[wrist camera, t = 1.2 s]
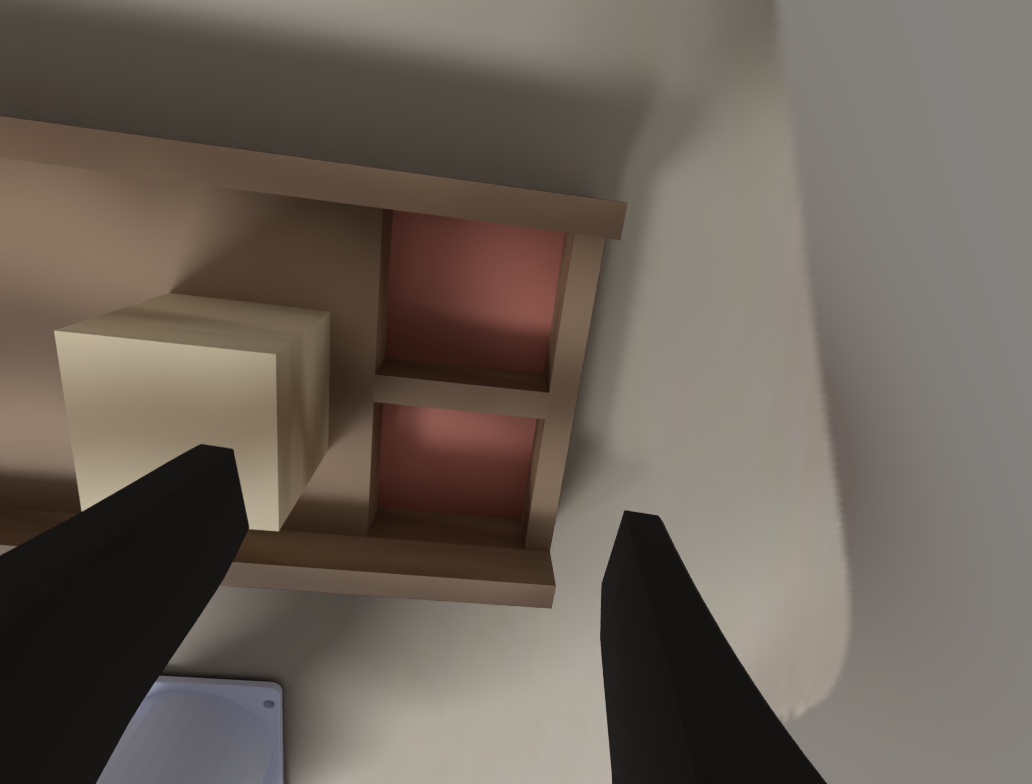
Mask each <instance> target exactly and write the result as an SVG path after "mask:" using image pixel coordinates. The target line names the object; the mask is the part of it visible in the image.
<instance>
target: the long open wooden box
mask: <svg viewBox="0 0 1032 784" xmlns="http://www.w3.org/2000/svg"><path fill="white" fill-rule="evenodd" d="M626 206H627V203H625V202H618V201H610V200H603V199H596V198H589V197H581V196H574V195H567V194H560V193H553V192H545V191H538V190H531V189H524V188H517V187H509V186H502V185H495V184H488V183H480V182H473V181H466V180H459V179H452V178H444V177H437V176H430V175H423V174H415V173H408V172H401V171H394V170H387V169H379V168H372V167H365V166H358V165H350V164H343V163H336V162H329V161H322V160H314V159H307V158H300V157H293V156H286V155H278V154H271V153H264V152H257V151H249V150H242V149H235V148H228V147H221V146H213V145H206V144H199V143H192V142H184V141H177V140H170V139H163V138H156V137H148V136H141V135H134V134H127V133H119V132H112V131H105V130H98V129H91V128H83V127H76V126H69V125H62V124H55V123H47V122H40V121H33V120H26V119H18V118H11V117H4V116H0V555H2V554H4V553H6V552H7V551H9V550H11V549H13V548H15V547H17V546H19V545H21V544H23V543H24V542H26V541H28V540H30V539H32V538H34V537H36V536H38V535H39V534H41V533H43V532H45V531H47V530H49V529H51V528H53V527H55V526H56V525H58V524H60V523H62V522H64V521H66V520H68V519H70V518H71V517H73V516H75V515H77V514H79V513H80V512H82V511H81V504H80V497H79V491H78V484H77V478H76V471H75V465H74V458H73V452H72V445H71V439H70V432H69V426H68V419H67V413H66V406H65V399H64V393H63V386H62V380H61V373H60V367H59V360H58V354H57V347H56V341H55V334H54V330H57V329H60V328H63V327H66V326H70V325H73V324H76V323H79V322H82V321H85V320H88V319H91V318H94V317H97V316H100V315H103V314H106V313H109V312H112V311H115V310H119V309H122V308H125V307H128V306H131V305H134V304H137V303H140V302H143V301H146V300H149V299H152V298H155V297H158V296H161V295H164V294H168V293H174V294H183V295H192V296H201V297H209V298H218V299H227V300H236V301H244V302H253V303H262V304H270V305H279V306H288V307H297V308H305V309H314V310H323V311H331V321H330V377H329V434H328V451H327V453H326V454H325V456H324V458H323V459H322V461H321V463H320V464H319V466H318V468H317V469H316V471H315V473H314V474H313V476H312V478H311V479H310V481H309V482H308V484H307V486H306V487H305V489H304V491H303V492H302V494H301V496H300V497H299V499H298V501H297V502H296V504H295V506H294V507H293V509H292V510H291V512H290V514H289V515H288V517H287V519H286V520H285V522H284V524H283V525H282V527H281V529H280V530H279V531H267V530H254V529H249V530H248V532H247V534H246V536H245V538H244V540H243V542H242V544H241V546H240V548H239V550H238V553H237V555H236V557H235V559H234V560H233V562H232V564H231V566H230V568H229V570H228V572H227V574H226V576H225V578H224V579H223V581H222V582H221V584H220V585H222V586H236V587H251V588H265V589H279V590H294V591H308V592H322V593H337V594H351V595H365V596H380V597H394V598H408V599H423V600H437V601H451V602H466V603H480V604H494V605H509V606H523V607H537V608H552V603H553V598H554V593H555V587H556V584H555V579H554V573H553V567H552V561H551V556H550V547H551V542H552V536H553V530H554V525H555V519H556V514H557V508H558V502H559V497H560V491H561V485H562V480H563V474H564V468H565V463H566V457H567V452H568V446H569V440H570V435H571V429H572V423H573V418H574V412H575V406H576V401H577V395H578V390H579V384H580V378H581V373H582V367H583V361H584V356H585V350H586V344H587V339H588V333H589V328H590V322H591V316H592V311H593V305H594V299H595V294H596V288H597V282H598V277H599V271H600V266H601V260H602V254H603V249H604V243H605V238H611V239H618V240H620V238H621V233H622V228H623V222H624V217H625V212H626Z"/></svg>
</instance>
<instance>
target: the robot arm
mask: <svg viewBox="0 0 1032 784" xmlns="http://www.w3.org/2000/svg"><path fill="white" fill-rule="evenodd" d="M248 530H249V523H248V518H247V513H246V508H245V503H244V499H243V494H242V489H241V484H240V479H239V474H238V469H237V464H236V459H235V455H234V450H233V449H231V448H225V447H218V446H212V445H206V444H199V445H198V446H196V447H194V448H192V449H190V450H188V451H186V452H185V453H183V454H181V455H179V456H177V457H176V458H174V459H172V460H170V461H169V462H167V463H165V464H163V465H162V466H160V467H158V468H157V469H155V470H153V471H151V472H150V473H148V474H146V475H145V476H143V477H141V478H139V479H138V480H136V481H134V482H133V483H131V484H129V485H127V486H126V487H124V488H122V489H120V490H119V491H117V492H115V493H113V494H112V495H110V496H108V497H106V498H105V499H103V500H101V501H100V502H98V503H96V504H94V505H93V506H91V507H89V508H87V509H86V510H84V511H82V512H80V513H79V514H77V515H75V516H73V517H71V518H70V519H68V520H66V521H64V522H62V523H60V524H58V525H56V526H55V527H53V528H51V529H49V530H47V531H45V532H43V533H41V534H39V535H38V536H36V537H34V538H32V539H30V540H28V541H26V542H24V543H23V544H21V545H19V546H17V547H15V548H13V549H11V550H9V551H7V552H6V553H4V554H2V555H0V784H284V774H283V710H282V688H281V687H280V685H279V684H277V683H275V682H265V681H247V680H229V679H210V678H192V677H174V676H160V674H161V673H162V671H163V670H164V668H165V667H166V665H167V664H168V662H169V661H170V659H171V658H172V656H173V655H174V653H175V652H176V650H177V649H178V647H179V646H180V644H181V643H182V641H183V640H184V638H185V637H186V635H187V634H188V632H189V631H190V630H191V628H192V627H193V625H194V624H195V622H196V621H197V619H198V618H199V616H200V615H201V613H202V612H203V610H204V608H205V607H206V605H207V604H208V602H209V601H210V599H211V598H212V596H213V595H214V593H215V592H216V590H217V589H218V587H219V586H220V584H221V582H222V581H223V579H224V578H225V576H226V574H227V572H228V570H229V568H230V566H231V564H232V562H233V560H234V559H235V557H236V555H237V553H238V550H239V548H240V546H241V544H242V542H243V540H244V538H245V536H246V534H247V532H248ZM600 641H601V654H602V666H603V678H604V690H605V701H606V712H607V724H608V735H609V747H610V758H611V769H612V784H827V783H826V782H825V781H824V779H823V778H822V777H821V775H820V774H819V773H818V771H817V770H816V769H815V768H814V766H813V765H812V764H811V762H810V761H809V760H808V758H807V757H806V756H805V755H804V753H803V752H802V751H801V749H800V748H799V746H798V745H797V744H796V742H795V741H794V740H793V738H792V737H791V736H790V735H789V733H788V731H787V730H786V729H785V727H784V726H783V725H782V723H781V722H780V720H779V719H778V718H777V716H776V715H775V713H774V712H773V710H772V709H771V708H770V706H769V705H768V703H767V702H766V700H765V699H764V697H763V696H762V694H761V693H760V691H759V690H758V688H757V687H756V686H755V684H754V682H753V681H752V679H751V678H750V676H749V675H748V673H747V672H746V670H745V668H744V667H743V665H742V664H741V662H740V661H739V659H738V658H737V656H736V655H735V653H734V651H733V650H732V648H731V646H730V645H729V643H728V641H727V640H726V638H725V637H724V635H723V633H722V632H721V630H720V628H719V626H718V625H717V623H716V621H715V619H714V618H713V616H712V614H711V613H710V611H709V609H708V607H707V606H706V604H705V602H704V601H703V599H702V597H701V595H700V593H699V592H698V590H697V588H696V586H695V584H694V582H693V581H692V579H691V577H690V575H689V573H688V571H687V569H686V567H685V565H684V564H683V562H682V560H681V558H680V556H679V554H678V552H677V550H676V548H675V546H674V544H673V542H672V540H671V538H670V536H669V534H668V532H667V530H666V528H665V525H664V523H663V521H662V520H661V519H660V517H659V516H657V515H651V514H645V513H638V512H632V511H626V510H625V511H624V514H623V517H622V520H621V523H620V527H619V530H618V533H617V536H616V539H615V543H614V546H613V549H612V552H611V555H610V559H609V562H608V565H607V568H606V571H605V575H604V578H603V581H602V588H601V628H600ZM269 700H270V701H269Z"/></svg>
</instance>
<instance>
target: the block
mask: <svg viewBox="0 0 1032 784" xmlns="http://www.w3.org/2000/svg"><path fill="white" fill-rule="evenodd" d="M330 321H331V311H323V310H314V309H305V308H297V307H288V306H279V305H270V304H262V303H253V302H244V301H236V300H227V299H218V298H209V297H201V296H192V295H183V294H174V293H168V294H164V295H161V296H158V297H155V298H152V299H149V300H146V301H143V302H140V303H137V304H134V305H131V306H128V307H125V308H122V309H119V310H115V311H112V312H109V313H106V314H103V315H100V316H97V317H94V318H91V319H88V320H85V321H82V322H79V323H76V324H73V325H70V326H66V327H63V328H60V329H57V330H54V334H55V341H56V347H57V354H58V360H59V367H60V373H61V380H62V386H63V393H64V399H65V406H66V413H67V419H68V426H69V432H70V439H71V445H72V452H73V458H74V465H75V471H76V478H77V484H78V491H79V497H80V504H81V511H84V510H86V509H87V508H89V507H91V506H93V505H94V504H96V503H98V502H100V501H101V500H103V499H105V498H106V497H108V496H110V495H112V494H113V493H115V492H117V491H119V490H120V489H122V488H124V487H126V486H127V485H129V484H131V483H133V482H134V481H136V480H138V479H139V478H141V477H143V476H145V475H146V474H148V473H150V472H151V471H153V470H155V469H157V468H158V467H160V466H162V465H163V464H165V463H167V462H169V461H170V460H172V459H174V458H176V457H177V456H179V455H181V454H183V453H185V452H186V451H188V450H190V449H192V448H194V447H196V446H198V445H199V444H206V445H212V446H218V447H225V448H231V449H233V450H234V455H235V459H236V464H237V469H238V474H239V479H240V484H241V489H242V494H243V499H244V503H245V508H246V513H247V518H248V523H249V529H254V530H267V531H279V530H280V529H281V527H282V525H283V524H284V522H285V520H286V519H287V517H288V515H289V514H290V512H291V510H292V509H293V507H294V506H295V504H296V502H297V501H298V499H299V497H300V496H301V494H302V492H303V491H304V489H305V487H306V486H307V484H308V482H309V481H310V479H311V478H312V476H313V474H314V473H315V471H316V469H317V468H318V466H319V464H320V463H321V461H322V459H323V458H324V456H325V454H326V453H327V451H328V434H329V377H330Z"/></svg>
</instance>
